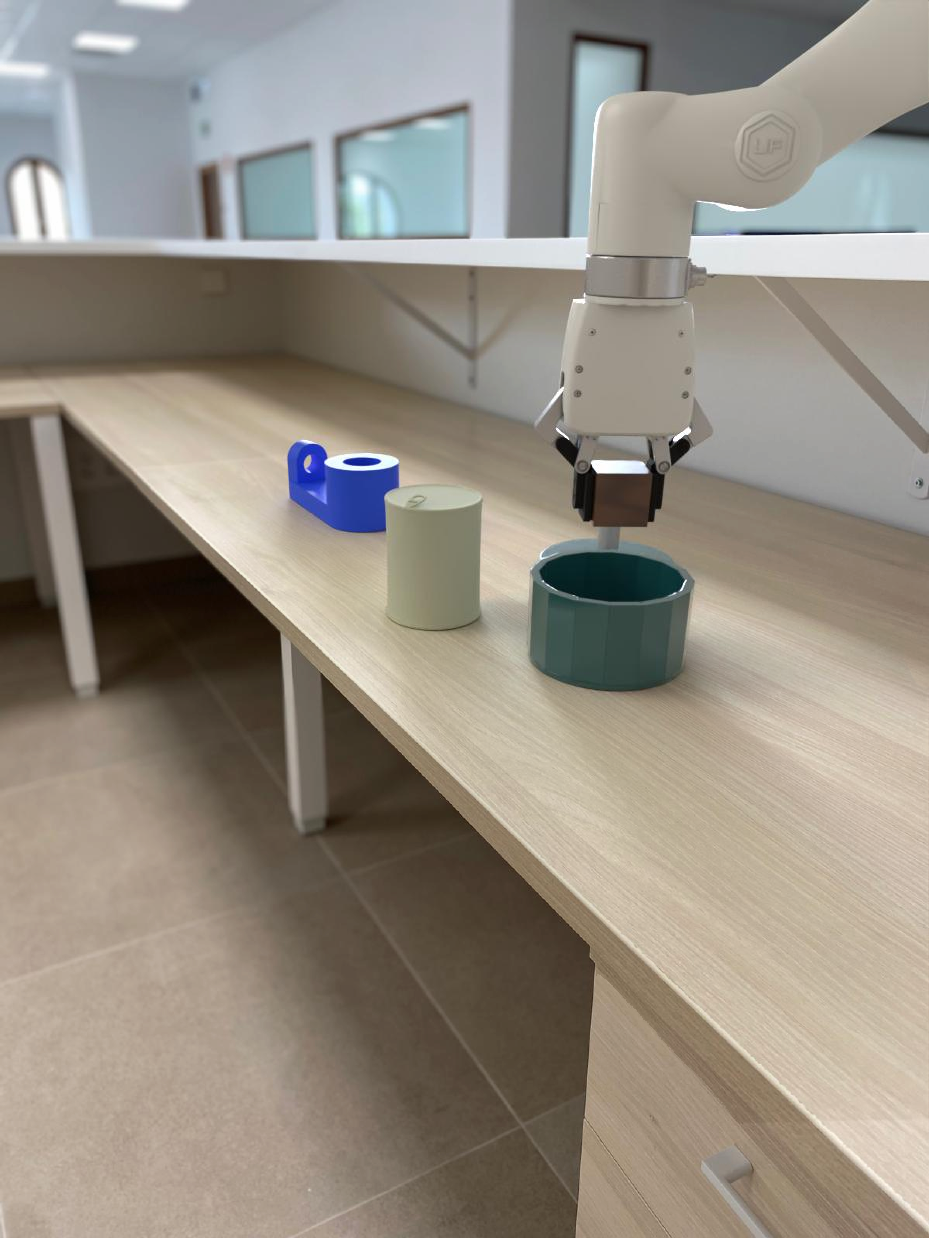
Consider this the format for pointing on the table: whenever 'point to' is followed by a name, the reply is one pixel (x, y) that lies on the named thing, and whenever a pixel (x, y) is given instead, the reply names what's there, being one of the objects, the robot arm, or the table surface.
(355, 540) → the table surface
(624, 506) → the block
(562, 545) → the lid
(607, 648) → the bowl
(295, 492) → the bracket
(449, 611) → the can
